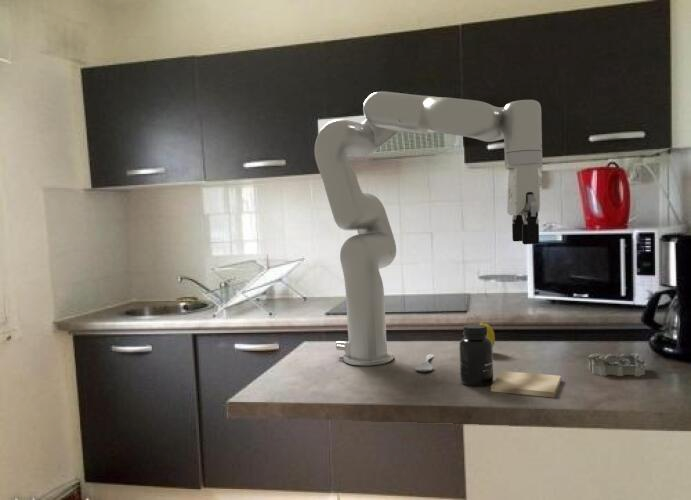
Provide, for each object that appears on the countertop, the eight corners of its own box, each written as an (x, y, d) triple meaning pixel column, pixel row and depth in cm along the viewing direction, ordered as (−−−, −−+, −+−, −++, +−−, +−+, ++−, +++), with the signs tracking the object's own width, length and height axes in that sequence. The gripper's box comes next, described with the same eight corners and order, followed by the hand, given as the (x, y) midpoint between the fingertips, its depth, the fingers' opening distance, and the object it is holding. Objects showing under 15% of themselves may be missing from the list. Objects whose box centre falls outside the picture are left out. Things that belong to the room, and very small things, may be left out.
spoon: (413, 376, 126) (413, 368, 125) (424, 352, 145) (424, 346, 145) (431, 376, 125) (431, 369, 124) (440, 353, 144) (440, 346, 144)
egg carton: (592, 377, 117) (591, 358, 117) (587, 367, 125) (586, 349, 124) (648, 378, 114) (647, 358, 114) (639, 368, 122) (639, 349, 121)
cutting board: (490, 391, 111) (490, 386, 111) (502, 375, 121) (502, 371, 121) (554, 397, 106) (554, 392, 106) (561, 380, 115) (561, 375, 115)
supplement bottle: (494, 387, 113) (492, 329, 113) (460, 387, 115) (458, 329, 114) (492, 377, 120) (490, 322, 119) (460, 377, 121) (458, 323, 121)
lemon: (477, 350, 143) (476, 319, 143) (498, 352, 140) (497, 320, 140) (469, 355, 139) (467, 323, 138) (490, 357, 136) (489, 325, 135)
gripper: (497, 165, 126) (499, 240, 127) (513, 158, 108) (515, 246, 110) (531, 163, 125) (533, 239, 126) (553, 156, 108) (554, 244, 109)
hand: (525, 242), depth 118 cm, fingers open, 9 cm apart
